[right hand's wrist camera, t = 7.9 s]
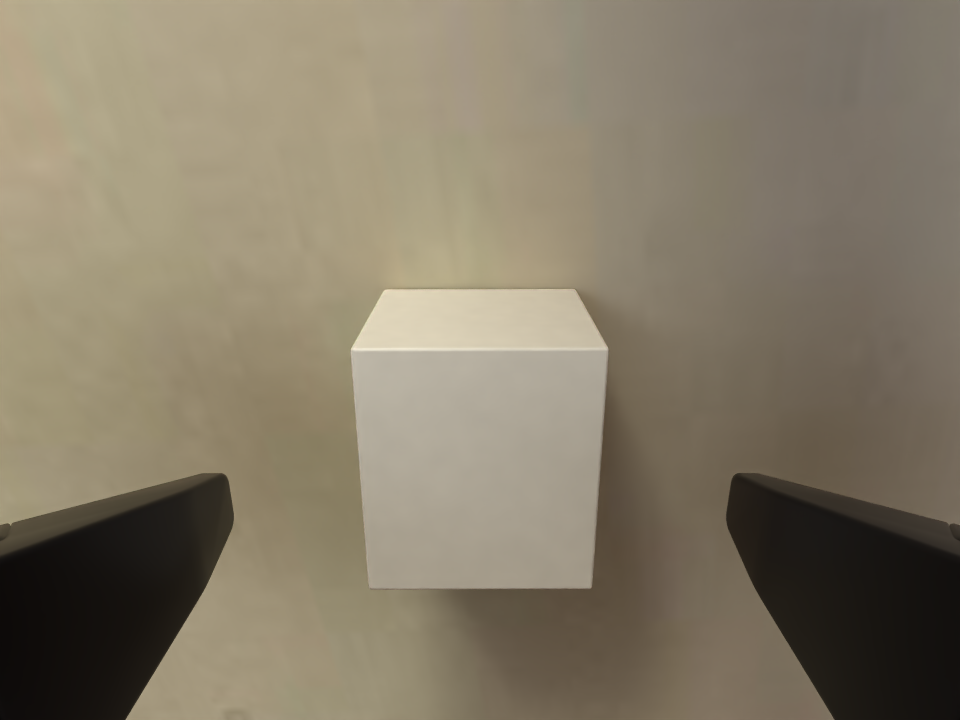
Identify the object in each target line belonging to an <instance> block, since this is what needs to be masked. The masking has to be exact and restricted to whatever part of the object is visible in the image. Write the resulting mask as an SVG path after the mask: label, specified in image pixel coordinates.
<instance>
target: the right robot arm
mask: <svg viewBox="0 0 960 720" xmlns="http://www.w3.org/2000/svg"><path fill="white" fill-rule="evenodd" d="M233 521H234V513H233V506H232V500H231V493H230V487H229V481H228V478H227V476H226V475H225V474H222V473H203V474H198V475H194V476H191V477H187V478H183V479H179V480H175V481H171V482H168V483H164V484H160V485H156V486H152V487H148V488H145V489H141V490H137V491H133V492H129V493H125V494H121V495H118V496H114V497H110V498H106V499H102V500H98V501H95V502H91V503H87V504H83V505H79V506H75V507H71V508H68V509H64V510H60V511H56V512H52V513H48V514H45V515H41V516H37V517H33V518H29V519H25V520H21V521H18V522H14V523H12V525H11V526H10V524H3V525H0V720H125V719H126V718H127V716H128V715H129V713H130V711H131V710H132V708H133V706H134V705H135V703H136V701H137V700H138V698H139V696H140V695H141V693H142V692H143V690H144V688H145V687H146V685H147V683H148V682H149V680H150V678H151V677H152V675H153V674H154V672H155V670H156V669H157V667H158V665H159V664H160V662H161V660H162V659H163V657H164V655H165V654H166V652H167V651H168V649H169V647H170V646H171V644H172V642H173V641H174V639H175V637H176V636H177V634H178V632H179V631H180V629H181V628H182V626H183V624H184V623H185V621H186V619H187V618H188V616H189V614H190V613H191V611H192V610H193V608H194V606H195V605H196V603H197V601H198V600H199V598H200V596H201V594H202V593H203V591H204V589H205V587H206V585H207V583H208V581H209V579H210V577H211V575H212V572H213V570H214V568H215V566H216V563H217V561H218V559H219V557H220V554H221V552H222V550H223V548H224V545H225V543H226V541H227V539H228V536H229V534H230V532H231V530H232V526H233ZM726 521H727V526H728V530H729V532H730V534H731V537H732V539H733V541H734V543H735V545H736V548H737V550H738V552H739V554H740V557H741V559H742V561H743V563H744V566H745V568H746V570H747V572H748V575H749V577H750V579H751V581H752V583H753V585H754V587H755V589H756V591H757V593H758V594H759V596H760V598H761V600H762V601H763V603H764V605H765V606H766V608H767V610H768V611H769V613H770V614H771V616H772V618H773V619H774V621H775V623H776V624H777V626H778V628H779V629H780V631H781V632H782V634H783V636H784V637H785V639H786V641H787V642H788V644H789V646H790V647H791V649H792V651H793V652H794V654H795V655H796V657H797V659H798V660H799V662H800V664H801V665H802V667H803V669H804V670H805V672H806V674H807V675H808V677H809V678H810V680H811V682H812V683H813V685H814V687H815V688H816V690H817V692H818V693H819V695H820V696H821V698H822V700H823V701H824V703H825V705H826V706H827V708H828V710H829V711H830V713H831V715H832V716H833V718H834V719H835V720H960V525H957V524H950V526H949V524H948V523H946V522H942V521H939V520H935V519H931V518H927V517H923V516H919V515H916V514H912V513H908V512H904V511H900V510H896V509H892V508H889V507H885V506H881V505H877V504H873V503H869V502H866V501H862V500H858V499H854V498H850V497H846V496H842V495H839V494H835V493H831V492H827V491H823V490H819V489H816V488H812V487H808V486H804V485H800V484H796V483H792V482H789V481H785V480H781V479H777V478H773V477H769V476H766V475H762V474H757V473H738V474H735V475H734V476H733V478H732V481H731V487H730V493H729V500H728V506H727V513H726Z"/></svg>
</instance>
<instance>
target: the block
mask: <svg viewBox="0 0 960 720" xmlns="http://www.w3.org/2000/svg"><path fill="white" fill-rule="evenodd" d="M608 357H609V349H608V347H607V345H606V343H605V341H604V340H603V338H602V336H601V334H600V332H599V331H598V329H597V327H596V325H595V323H594V322H593V320H592V318H591V316H590V315H589V313H588V311H587V309H586V307H585V306H584V304H583V302H582V300H581V298H580V297H579V295H578V293H577V291H576V290H575V289H386V290H384V291H383V293H382V295H381V296H380V298H379V300H378V302H377V303H376V305H375V307H374V309H373V311H372V312H371V314H370V316H369V318H368V320H367V321H366V323H365V325H364V327H363V329H362V330H361V332H360V334H359V336H358V337H357V339H356V341H355V343H354V345H353V346H352V348H351V364H352V377H353V390H354V403H355V416H356V429H357V442H358V455H359V468H360V481H361V494H362V507H363V520H364V533H365V546H366V559H367V572H368V585H369V588H370V589H591V587H592V582H593V568H594V554H595V540H596V526H597V511H598V497H599V483H600V469H601V455H602V441H603V427H604V413H605V399H606V385H607V371H608Z"/></svg>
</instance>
